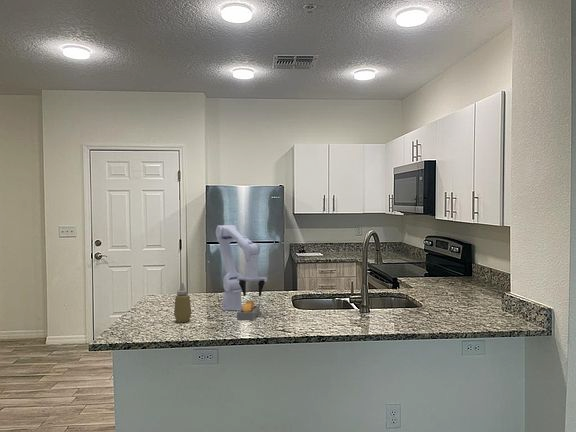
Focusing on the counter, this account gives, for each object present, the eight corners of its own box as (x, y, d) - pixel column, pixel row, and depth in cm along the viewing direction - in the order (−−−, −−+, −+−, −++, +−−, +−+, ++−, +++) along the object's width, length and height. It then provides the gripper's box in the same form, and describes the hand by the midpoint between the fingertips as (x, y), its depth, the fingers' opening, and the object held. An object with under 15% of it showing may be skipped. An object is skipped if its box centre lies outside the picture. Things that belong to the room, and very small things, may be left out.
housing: (237, 319, 215) (236, 306, 215) (244, 312, 229) (243, 299, 229) (253, 320, 214) (253, 306, 214) (259, 312, 228) (259, 299, 227)
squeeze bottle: (195, 319, 217) (194, 281, 216) (185, 324, 209) (184, 284, 209) (180, 318, 220) (179, 281, 219) (170, 322, 212) (169, 284, 211)
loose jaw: (243, 315, 220) (243, 303, 220) (251, 316, 220) (251, 303, 219) (242, 318, 216) (241, 305, 216) (250, 318, 216) (250, 305, 215)
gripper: (235, 269, 221) (235, 297, 221) (264, 269, 218) (265, 297, 219) (239, 267, 228) (239, 294, 228) (267, 267, 225) (268, 294, 226)
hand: (252, 295), depth 224 cm, fingers open, 7 cm apart
